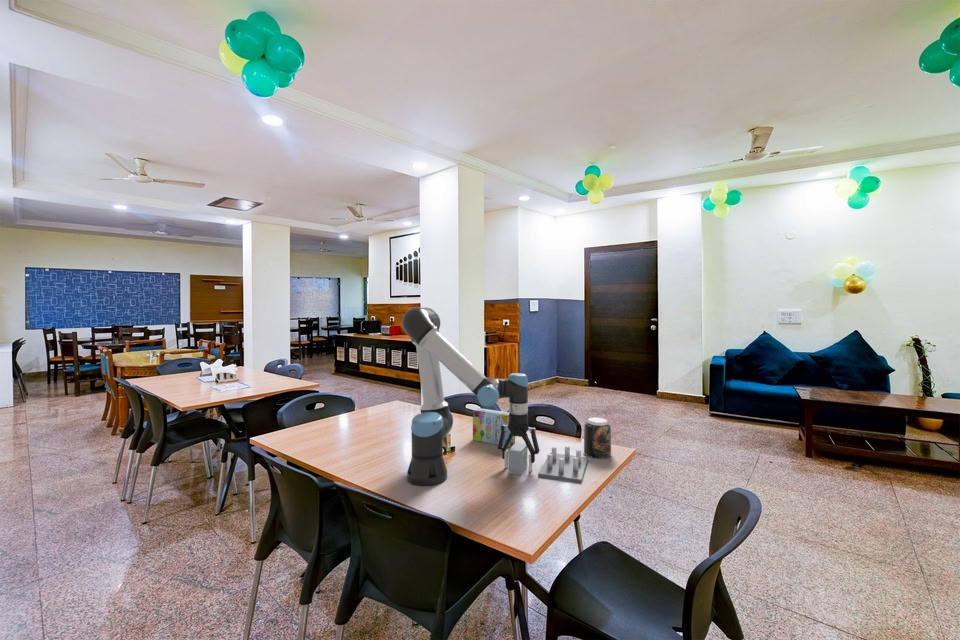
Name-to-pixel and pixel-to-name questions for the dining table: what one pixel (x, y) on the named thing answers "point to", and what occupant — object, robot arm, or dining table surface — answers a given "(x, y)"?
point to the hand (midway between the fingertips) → (518, 468)
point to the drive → (517, 458)
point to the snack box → (490, 426)
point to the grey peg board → (564, 466)
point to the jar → (597, 438)
